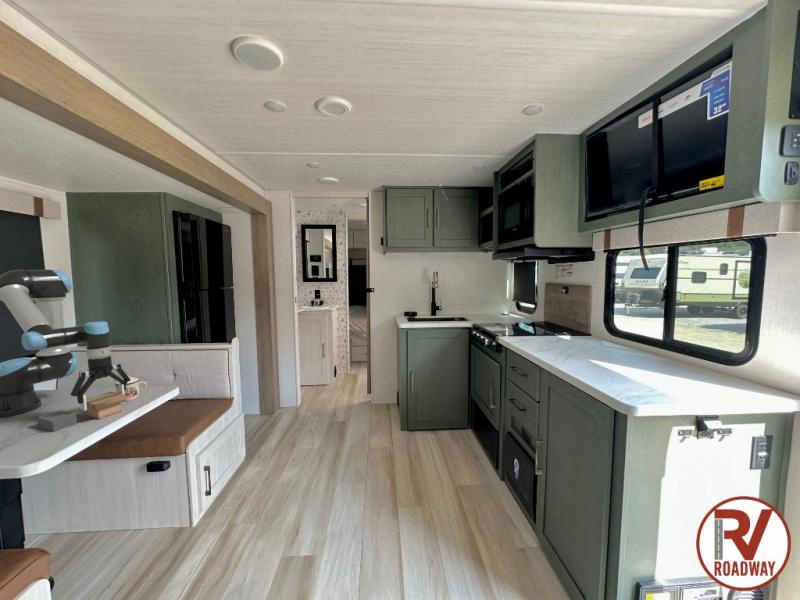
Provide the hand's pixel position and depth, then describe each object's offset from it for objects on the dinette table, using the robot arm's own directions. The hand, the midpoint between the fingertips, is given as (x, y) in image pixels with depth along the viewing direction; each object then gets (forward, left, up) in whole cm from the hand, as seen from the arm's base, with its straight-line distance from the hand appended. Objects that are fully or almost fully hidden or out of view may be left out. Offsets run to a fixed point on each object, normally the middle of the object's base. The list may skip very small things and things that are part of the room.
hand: (104, 403), depth 140 cm
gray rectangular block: (-6, -13, -5) cm, 15 cm away
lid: (0, 0, 0) cm, 0 cm away
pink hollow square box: (0, 0, -5) cm, 5 cm away
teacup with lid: (-10, +16, -5) cm, 19 cm away
